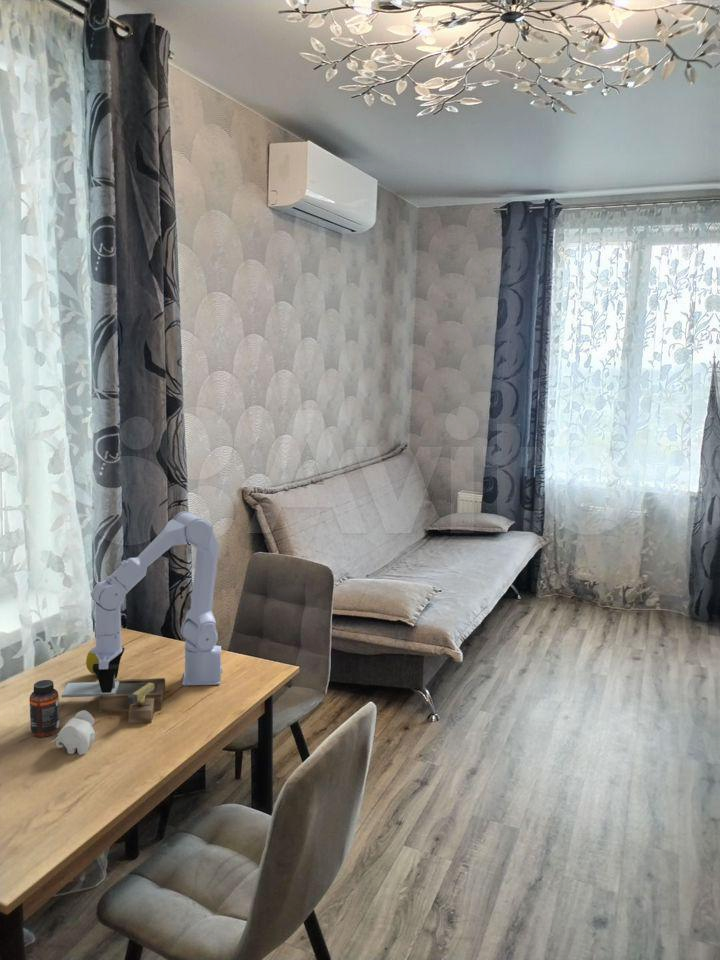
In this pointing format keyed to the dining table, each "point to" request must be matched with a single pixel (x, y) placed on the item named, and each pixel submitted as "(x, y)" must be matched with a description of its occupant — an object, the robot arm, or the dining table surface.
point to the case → (137, 712)
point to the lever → (140, 695)
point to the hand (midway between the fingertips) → (109, 685)
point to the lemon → (91, 661)
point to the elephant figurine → (77, 733)
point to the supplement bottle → (44, 709)
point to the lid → (87, 689)
